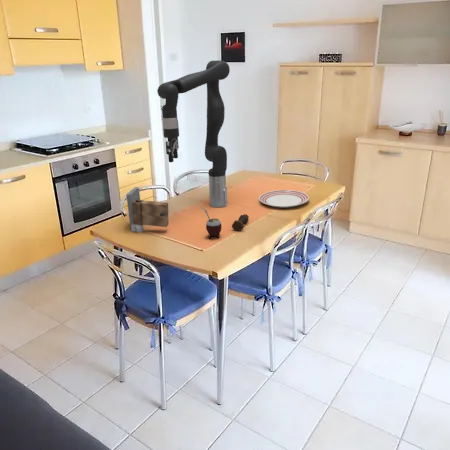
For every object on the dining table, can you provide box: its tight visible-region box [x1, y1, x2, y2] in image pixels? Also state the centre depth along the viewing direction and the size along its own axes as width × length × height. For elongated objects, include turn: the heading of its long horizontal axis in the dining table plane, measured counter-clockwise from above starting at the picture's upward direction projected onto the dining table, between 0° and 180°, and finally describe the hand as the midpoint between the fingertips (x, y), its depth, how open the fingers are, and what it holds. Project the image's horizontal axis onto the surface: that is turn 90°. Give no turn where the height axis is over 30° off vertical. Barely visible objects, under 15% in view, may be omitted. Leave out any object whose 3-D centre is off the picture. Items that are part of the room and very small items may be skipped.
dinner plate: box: [258, 189, 310, 209], centre depth 239 cm, size 28×27×3 cm
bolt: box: [231, 213, 249, 232], centre depth 208 cm, size 6×5×15 cm
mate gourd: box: [199, 206, 222, 240], centre depth 195 cm, size 8×8×15 cm
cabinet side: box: [125, 187, 144, 233], centre depth 210 cm, size 7×15×18 cm, turn 171°
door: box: [132, 199, 170, 228], centre depth 203 cm, size 16×5×11 cm, turn 81°
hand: (173, 160), depth 213 cm, fingers open, 8 cm apart
